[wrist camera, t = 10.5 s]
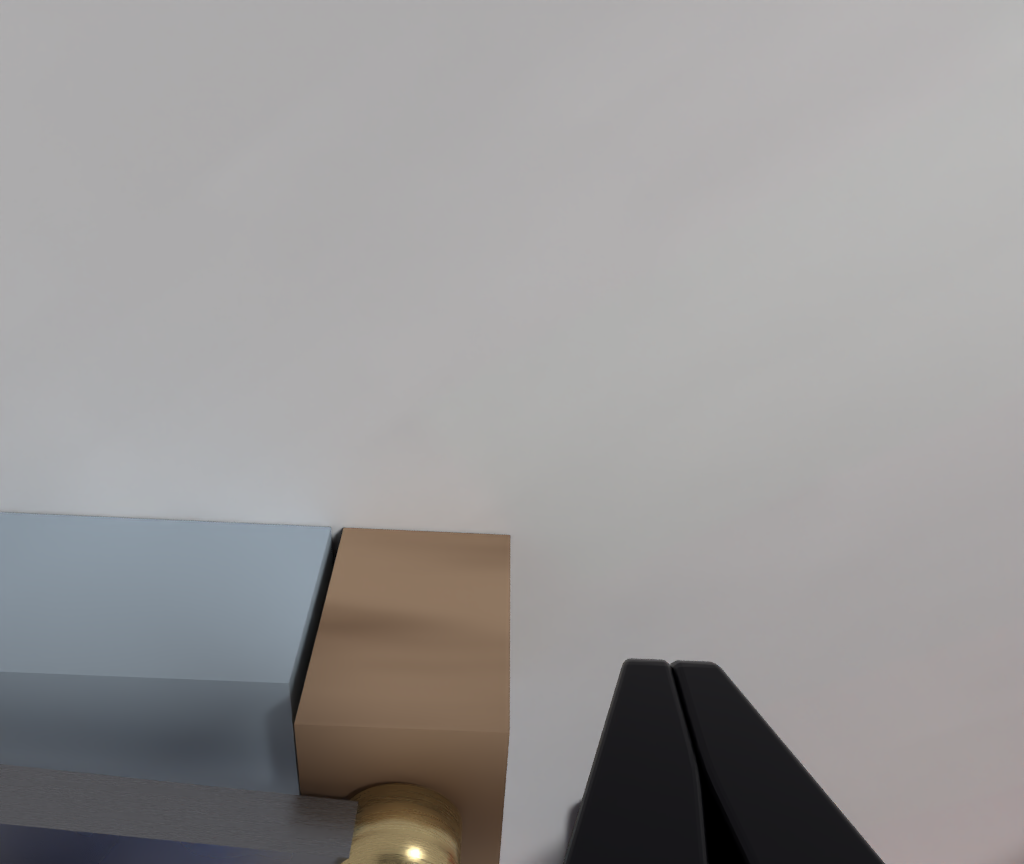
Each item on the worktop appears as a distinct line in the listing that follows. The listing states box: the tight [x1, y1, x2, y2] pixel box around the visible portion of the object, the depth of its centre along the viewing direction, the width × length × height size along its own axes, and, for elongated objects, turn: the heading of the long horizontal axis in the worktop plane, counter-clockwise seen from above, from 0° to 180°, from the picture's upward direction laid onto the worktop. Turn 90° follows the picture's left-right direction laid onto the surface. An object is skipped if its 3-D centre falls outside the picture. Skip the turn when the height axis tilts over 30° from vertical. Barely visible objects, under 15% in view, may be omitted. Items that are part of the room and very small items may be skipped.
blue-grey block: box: [0, 512, 333, 795], centre depth 21 cm, size 5×13×8 cm, turn 87°
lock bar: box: [0, 764, 462, 864], centre depth 18 cm, size 13×2×2 cm, turn 81°
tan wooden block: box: [294, 528, 510, 864], centre depth 21 cm, size 5×4×6 cm
